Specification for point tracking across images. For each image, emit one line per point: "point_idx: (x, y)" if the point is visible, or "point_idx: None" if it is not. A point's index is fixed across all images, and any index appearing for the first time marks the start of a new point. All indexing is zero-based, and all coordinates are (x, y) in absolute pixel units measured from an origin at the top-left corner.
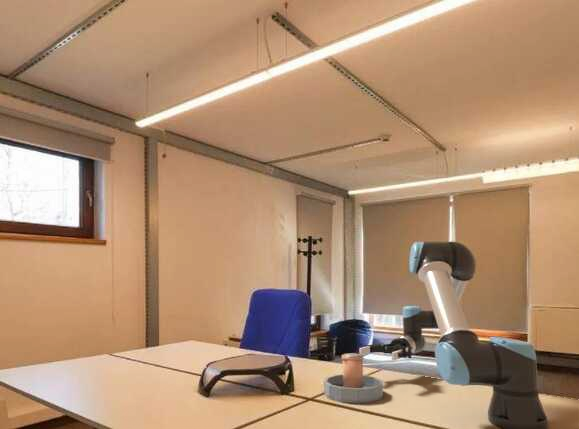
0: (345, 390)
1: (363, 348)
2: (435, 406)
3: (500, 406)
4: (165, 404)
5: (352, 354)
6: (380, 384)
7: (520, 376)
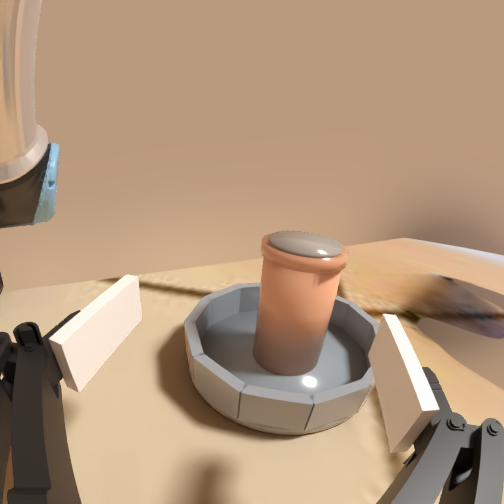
0: None
1: (390, 336)
2: None
3: None
4: (431, 258)
5: (311, 244)
6: (189, 321)
7: None
